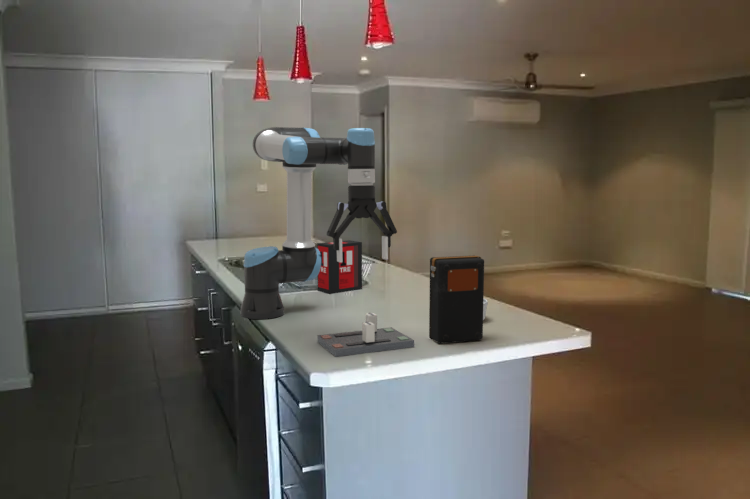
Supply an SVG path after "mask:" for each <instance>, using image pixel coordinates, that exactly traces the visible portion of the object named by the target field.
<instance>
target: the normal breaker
mask: <svg viewBox="0 0 750 499" xmlns="http://www.w3.org/2000/svg"><path fill="white" fill-rule="evenodd" d="M364 320H365V321H364V323H365V322H371V323H373V324H375V332H376V331H377V329H378V315H377V314H376V313H374V312H368V313H365V317H364Z"/></svg>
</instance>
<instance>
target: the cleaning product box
mask: <svg viewBox="0 0 750 499" xmlns="http://www.w3.org/2000/svg"><path fill="white" fill-rule="evenodd" d="M316 248H317V249H318V250H319V251H320V254H321V255H320V257H321V268H320V272H319V274H318V276H317V277H316V278H317V291H318V292H322V293H325V294H327V295H328V294H329V295H332V294H339V293H346V292H352V291H359V290H363V242H362V241H358V240H349V239H348V240H342V259H343V262H337V250H334V248H333V241H328V242H317V243H316Z"/></svg>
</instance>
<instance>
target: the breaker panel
mask: <svg viewBox="0 0 750 499" xmlns="http://www.w3.org/2000/svg"><path fill="white" fill-rule="evenodd" d="M316 336H317V338H316V341H317V343H318V344H319V345H320V346H322V347H323V349H327V350H326V351H328V352H329V353H330V354H331V355H333V356H334V357H335V358H337V357H346V356H354V355H361V354H368V353H377V352H378V353H379V352H385V351H393V350H394V351H395V350H399V349H402V350H403V349H409V348H414V347H415V339H413V338H411V337H410V336H408V335H406V334H404V333H402V332H400V331H399V330H397V329H395V328H394V327H390V326H389V327H383V328H381V327H380V328H377V331H376V332H375V342H368V343H366V342H365V341H363V340H362V330H354V331H345V332H335V333H328V334H319V335H318V334H317V335H316Z"/></svg>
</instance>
